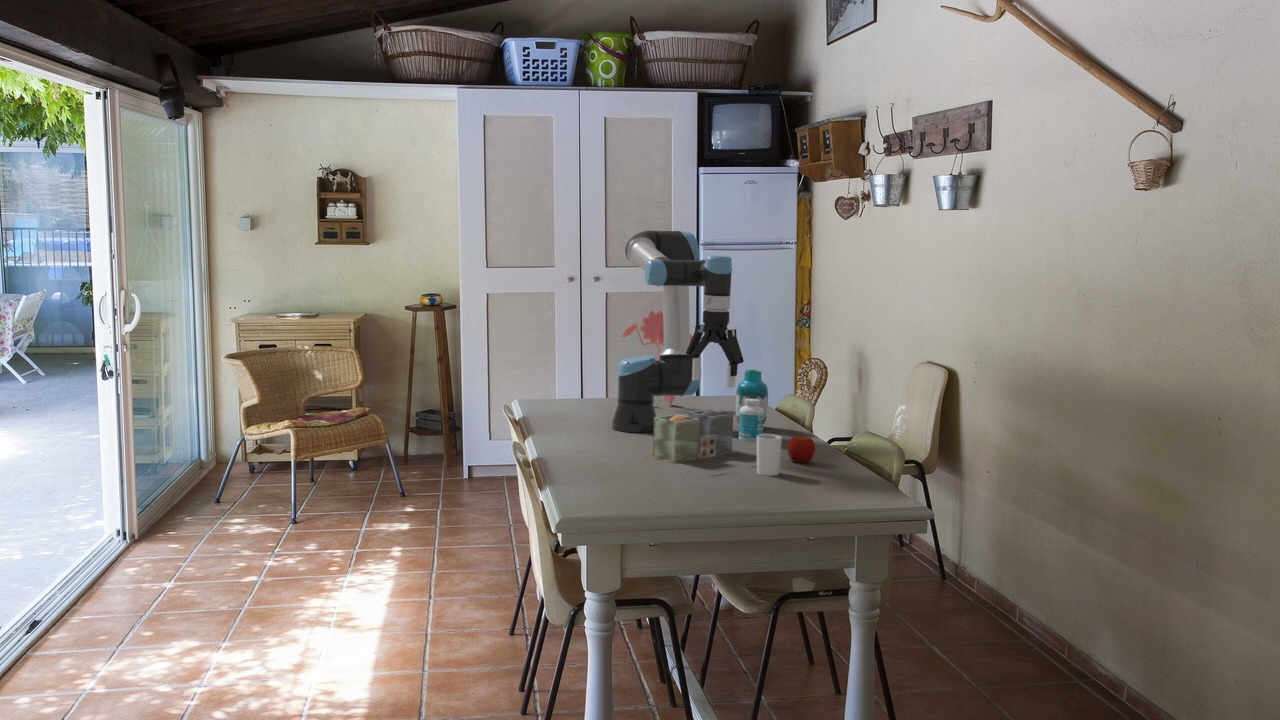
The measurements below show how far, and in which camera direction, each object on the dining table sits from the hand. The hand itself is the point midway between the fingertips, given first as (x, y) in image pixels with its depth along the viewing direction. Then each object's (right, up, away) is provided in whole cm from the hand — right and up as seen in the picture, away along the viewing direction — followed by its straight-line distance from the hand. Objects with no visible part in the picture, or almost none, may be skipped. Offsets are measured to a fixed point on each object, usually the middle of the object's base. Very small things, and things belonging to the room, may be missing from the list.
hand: (713, 383), depth 294 cm
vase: (+16, -16, +44) cm, 49 cm away
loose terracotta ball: (-11, -14, -13) cm, 22 cm away
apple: (+24, -22, -5) cm, 33 cm away
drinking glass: (+13, -24, -20) cm, 34 cm away
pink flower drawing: (-16, -10, +86) cm, 88 cm away
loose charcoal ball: (0, -13, -1) cm, 13 cm away
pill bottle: (+13, -19, +20) cm, 30 cm away
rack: (-6, -21, -5) cm, 23 cm away
